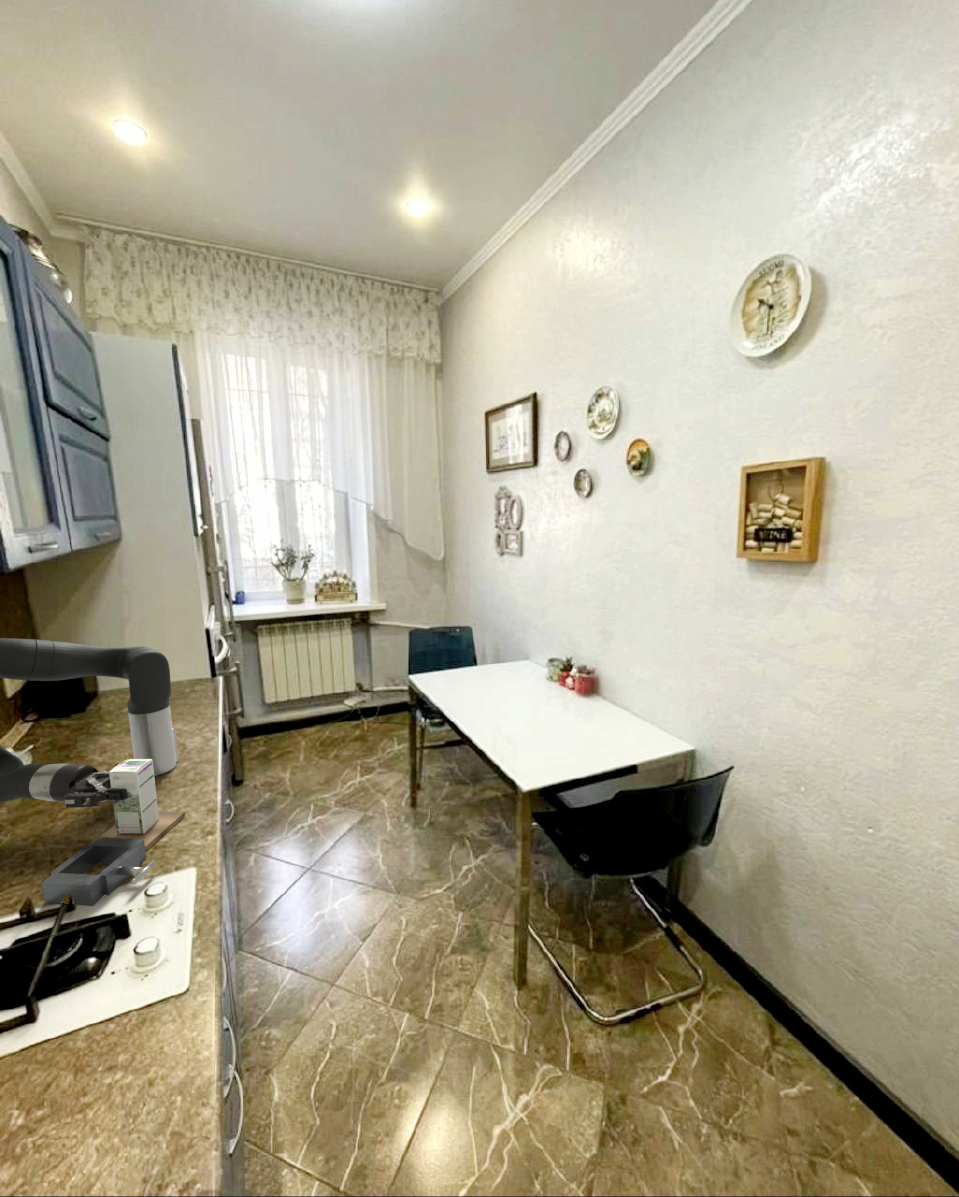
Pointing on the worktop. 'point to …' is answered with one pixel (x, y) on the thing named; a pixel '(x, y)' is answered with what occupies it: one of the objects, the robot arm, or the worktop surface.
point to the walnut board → (153, 833)
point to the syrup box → (135, 796)
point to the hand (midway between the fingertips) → (137, 786)
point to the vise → (92, 888)
